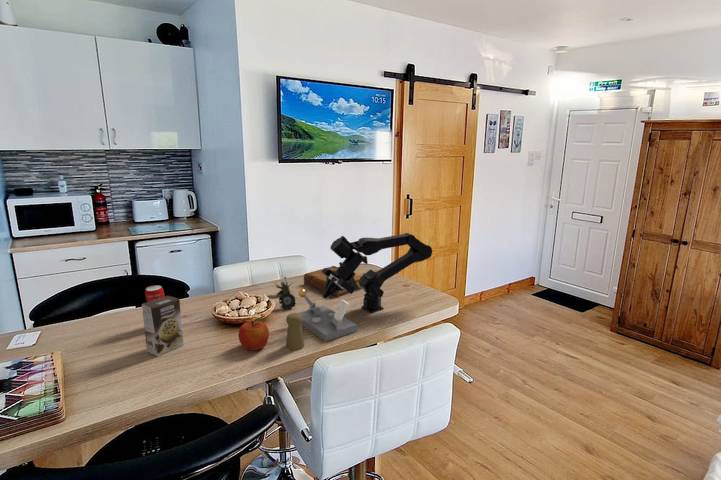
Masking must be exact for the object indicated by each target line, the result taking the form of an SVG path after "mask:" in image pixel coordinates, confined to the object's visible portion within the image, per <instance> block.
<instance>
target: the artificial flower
mask: <svg viewBox="0 0 721 480" xmlns="http://www.w3.org/2000/svg"><path fill="white" fill-rule="evenodd" d="M283 279H284V281H285V282H284V281H282V280H280V285H278V283H277V282H274V283H273V285H274V286H275V287H276V288H277V289H280V290H279V291H277V294H279V293H280V292H281V291H283V293H282V294H281V295H280V296H279V298H278V300H279V301H278V302H279V305H280V306H279V307H281V308H282V309H283V310H290V309H292V308H293V307H296V304H297V303H296V297H295V296H294V294H292V293H291V290H290V287H291V285H292V284H294V282H293V281H292V282H291V283H290V284H289V280H288V279H287V277H286V276H284V277H283Z"/></svg>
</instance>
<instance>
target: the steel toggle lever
mask: <svg viewBox="0 0 721 480" xmlns="http://www.w3.org/2000/svg"><path fill="white" fill-rule="evenodd" d="M297 295H298V296H299V297H300V298H303V299H304V300H305V301H306V303H307V304H308V305H310V307H311V308H310V309H311V310H312V311H313V312H314V307H317V306H316V304H315V305H313V304H312V303H313V302H312V301H311V300H310V298H309V297H308V295H307V291H306V289H304V288H301V289H299V290H298V292H297Z"/></svg>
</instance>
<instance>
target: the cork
mask: <svg viewBox="0 0 721 480" xmlns="http://www.w3.org/2000/svg"><path fill="white" fill-rule="evenodd" d="M299 313H300V312H291V313H289V314H287V316H286V317H285V318H286V319H285V321H286V324H287V331H286V332H287V333H286V340H285V348H286V349H287V350H288V351H299V350H302V349H303V348H305V339H304V334H303V327H302V325H301V323H302V321H303V318H302V315H301V314H299Z"/></svg>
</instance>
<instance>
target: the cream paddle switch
mask: <svg viewBox="0 0 721 480" xmlns="http://www.w3.org/2000/svg"><path fill="white" fill-rule="evenodd" d="M338 302H339V304H338V306H337V309H336V310H335V311H334V312H335V315H334V317H332V318H331V320H330V321H331V322H332V323H333V324H334V325H335V326H336V321H339V320H342V318H343V317H344V315H345V313H346V312H347V309H348V308H349V307H350V305H351V304H350V303H349V302H347V301H346V300H345V299H342V298H340V299H339V301H338Z"/></svg>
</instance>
